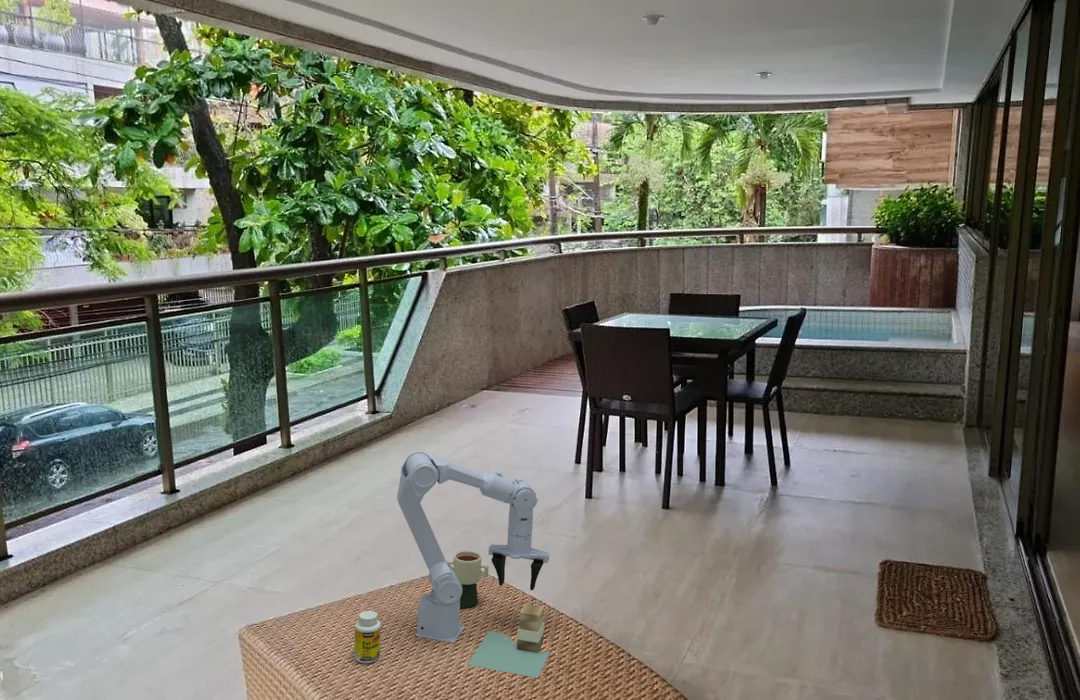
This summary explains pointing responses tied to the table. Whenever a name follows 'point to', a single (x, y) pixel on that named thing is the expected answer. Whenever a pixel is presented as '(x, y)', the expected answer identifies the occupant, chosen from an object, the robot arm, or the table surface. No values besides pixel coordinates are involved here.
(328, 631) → the table surface
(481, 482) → the robot arm
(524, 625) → the oak block
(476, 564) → the character mug
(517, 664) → the teal board
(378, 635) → the supplement bottle
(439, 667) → the table surface
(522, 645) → the walnut block
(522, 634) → the cream block
